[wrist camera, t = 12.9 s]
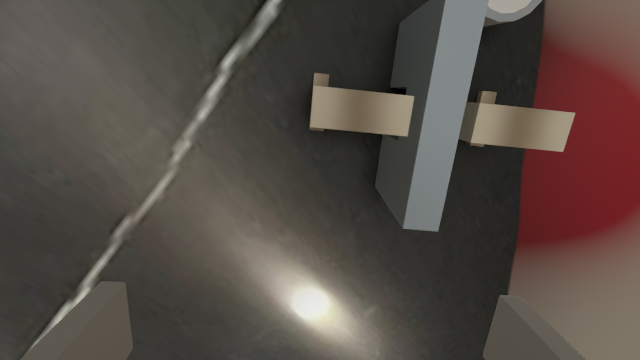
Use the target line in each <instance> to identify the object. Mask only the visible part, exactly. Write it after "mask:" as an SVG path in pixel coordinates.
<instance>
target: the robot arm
mask: <svg viewBox="0 0 640 360" xmlns="http://www.w3.org/2000/svg"><path fill="white" fill-rule="evenodd" d="M132 349H133V345H132V336H131V327H130V318H129V309H128V300H127V292H126V283H125V282H108V281H101V282H100V283H99V284H98V285H97V286H96V287H95V288H94V289H93V290H92V291H91V292H90V293H89V294H88V295H87V296H86V297H85V298H84V299H82V300H81V301H80V302H79V303H78V304H77V305H76V306H75V307H74V308H73V309H72V310H71V311H70V312H69V313H68V314H67V315H66V316H65V317H64V318H63V319H62V320H61V321H60V322H59V323H58V324H57V325H56V326H55V327H53V328H52V329H51V330H50V331H49V332H48V333H47V334H46V335H45V336H44V337H43V338H42V339H41V340H40V341H39V342H38V343H37V344H36V345H35V346H34V347H33V348H32V349H31V350H30V351H29V352H28V353H27V354H26V355H25V356H23V357H22V358H21V359H20V360H126V358H127V357H128V355H129V354H130V352H131V351H132ZM483 357H484V358H485V360H586V359H585V358H584V357H583V356H582V355H581V354H580V353H578V351H577V350H576V349H574V348H573V347H572V346H571V345H570V344H569V343H568V342H567V341H566V340H565V339H564V338H563V337H562V336H561V335H560V334H559V333H558V332H557V331H556V330H555V329H554V328H553V327H552V326H550V324H548V323H547V322H546V321H545V320H544V319H543V318H542V317H541V316H540V315H539V314H538V313H537V312H536V311H535V310H534V309H533V308H532V307H531V306H530V305H529V304H528V303H527V302H525V300H523V299H522V298H521V297H520V296H508V295H500V297H499V300H498V303H497V307H496V310H495V314H494V317H493V321H492V324H491V328H490V331H489V335H488V338H487V342H486V345H485V349H484V352H483Z"/></svg>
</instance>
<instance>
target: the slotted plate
mask: <svg viewBox="0 0 640 360" xmlns="http://www.w3.org/2000/svg"><path fill="white" fill-rule="evenodd" d="M488 2H489V0H429V1H428V2H426V3H425V4H424V5H422V6H421V7H420V8H419V9H417V10H416V11H415V12H413V13H412V14H411V15H410V16H408V17H407V18H406V19H404V20H403V21H402V22H401V23H400V24H399V31H398V38H397V44H396V51H395V57H394V64H393V70H392V77H391V83H390V88H399V89H406V95H408V96H414V102H413V108H412V113H411V119H410V125H409V130H408V136H397V135H387V134H383V136H382V142H381V149H380V155H379V162H378V168H377V175H376V181H375V188H376V189H377V191H378V192H379V194H380V195H381V197H382V198H383V200H384V201H385V203H386V204H387V206H388V207H389V209H390V210H391V212H392V213H393V214H394V216H395V217H396V219H397V220H398V222H399V223H400V225H401V226H402V228H403V229H414V230H426V231H438V229H439V224H440V220H441V215H442V211H443V206H444V202H445V197H446V193H447V188H448V184H449V179H450V175H451V170H452V165H453V161H454V156H455V152H456V147H457V143H458V138H459V134H460V129H461V125H462V120H463V116H464V111H465V106H466V102H467V97H468V93H469V88H470V84H471V79H472V75H473V70H474V66H475V61H476V57H477V52H478V47H479V43H480V38H481V34H482V29H483V25H484V20H485V16H486V11H487V7H488Z"/></svg>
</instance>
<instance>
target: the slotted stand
mask: <svg viewBox="0 0 640 360" xmlns="http://www.w3.org/2000/svg"><path fill="white" fill-rule="evenodd" d="M328 83H329V74H320V73H314V81H313V93H312V104H311V115H310V126H309V130H317V131H324V128H325V129H335V130H346V131H356V132H366V133H376V134H387V135H397V136H408V130H409V125H410V119H411V113H412V108H413V102H414V96H408V95H399V94H389V93H380V92H370V91H360V90H351V89H341V88H332V87H328ZM496 94H497V92H489V91H478V93H477V98H476V102H475V103H472V102H466V106H465V111H464V116H463V120H462V125H461V129H460V134H459V138H458V139H461V140H464V141H466V144H467V145H471V146H482V147H484V144H489V145H499V146H510V147H520V148H530V149H541V150H551V151H561V152H563V150H564V147H565V144H566V141H567V138H568V135H569V131H570V128H571V125H572V122H573V119H574V116H575V113H570V112H561V111H551V110H541V109H532V108H523V107H513V106H504V105H494V102H495V98H496Z"/></svg>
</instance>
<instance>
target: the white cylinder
mask: <svg viewBox="0 0 640 360" xmlns="http://www.w3.org/2000/svg"><path fill="white" fill-rule="evenodd" d="M541 1H542V0H489V2H488V7H487V11H486V16H485V20H484V25H483V27H486V26H491V25H496V24H501V23H506V22H511V21H515V20H517V19H519V18H521V17H523V16H525V15H527V14H529V13H530V12H531V11H532V10H533V9H534V8H535V7H536V6H537V5H538V4H539V3H540V2H541Z"/></svg>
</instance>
